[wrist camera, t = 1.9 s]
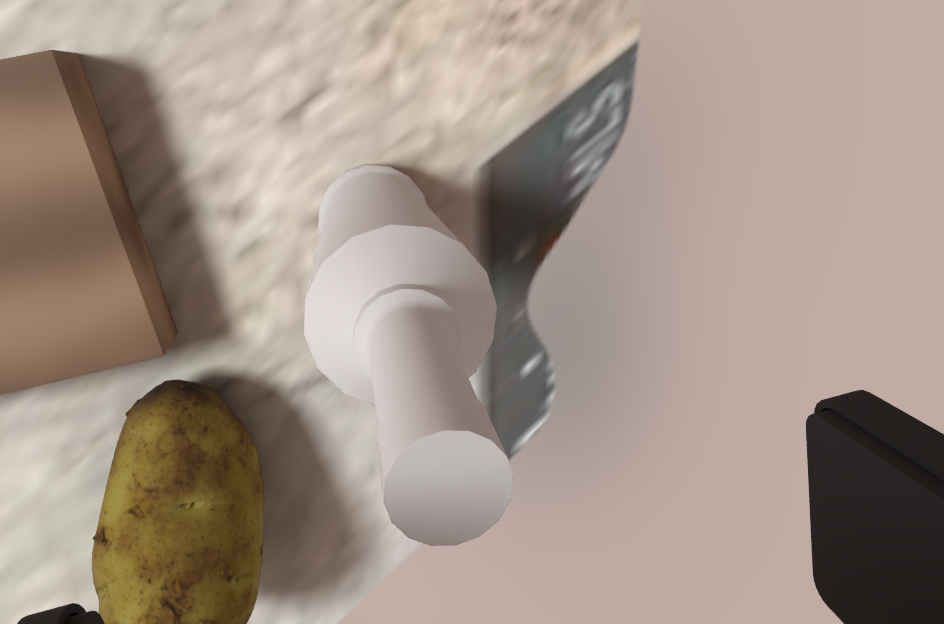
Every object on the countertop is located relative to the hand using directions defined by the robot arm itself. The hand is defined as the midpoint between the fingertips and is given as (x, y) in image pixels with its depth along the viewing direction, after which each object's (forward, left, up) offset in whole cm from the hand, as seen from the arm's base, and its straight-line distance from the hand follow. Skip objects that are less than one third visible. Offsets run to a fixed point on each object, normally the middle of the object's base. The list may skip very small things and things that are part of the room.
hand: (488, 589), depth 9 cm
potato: (+12, -12, -27) cm, 32 cm away
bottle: (0, 0, -27) cm, 27 cm away
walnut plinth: (-3, -17, -27) cm, 32 cm away
